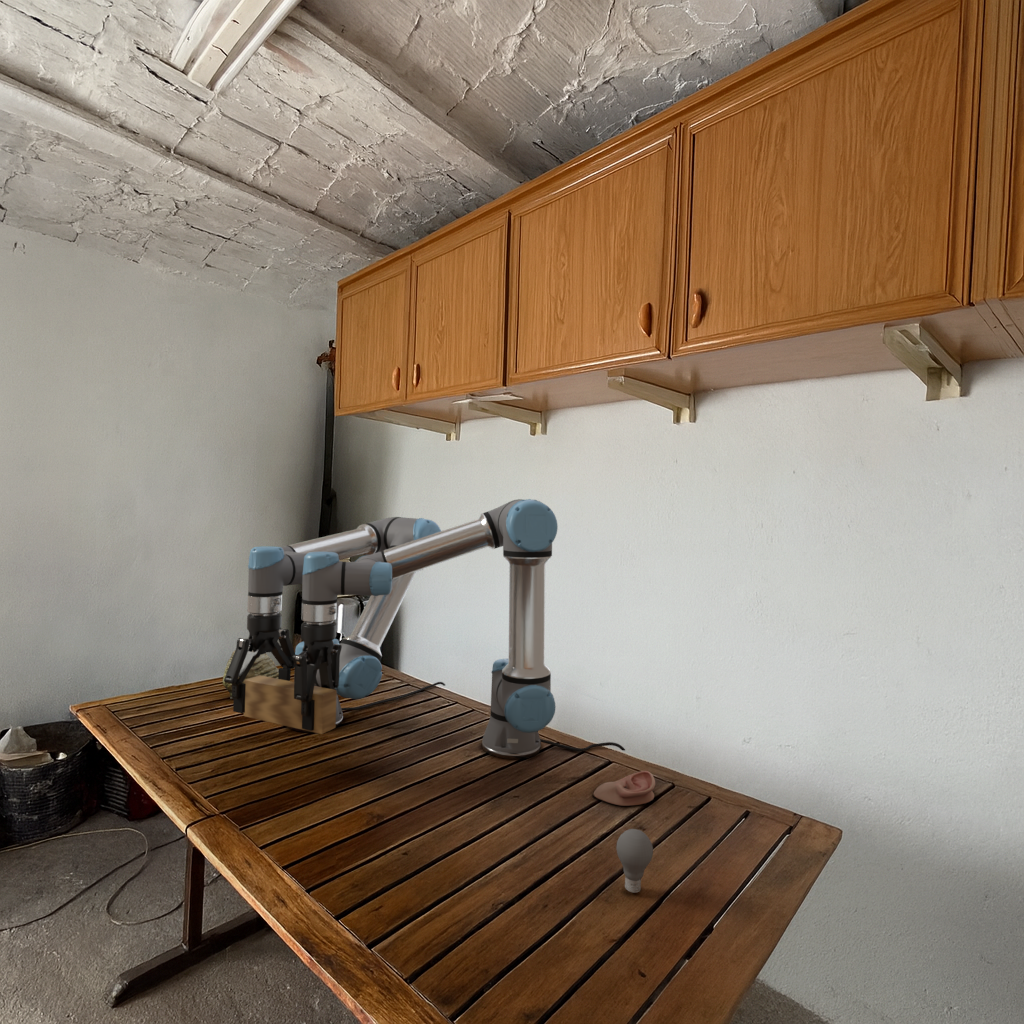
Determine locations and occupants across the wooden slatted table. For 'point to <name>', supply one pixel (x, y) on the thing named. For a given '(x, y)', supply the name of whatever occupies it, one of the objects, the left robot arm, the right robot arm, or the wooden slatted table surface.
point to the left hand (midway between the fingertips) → (262, 703)
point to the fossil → (255, 670)
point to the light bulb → (634, 857)
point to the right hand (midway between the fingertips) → (316, 725)
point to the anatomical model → (628, 790)
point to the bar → (287, 704)
